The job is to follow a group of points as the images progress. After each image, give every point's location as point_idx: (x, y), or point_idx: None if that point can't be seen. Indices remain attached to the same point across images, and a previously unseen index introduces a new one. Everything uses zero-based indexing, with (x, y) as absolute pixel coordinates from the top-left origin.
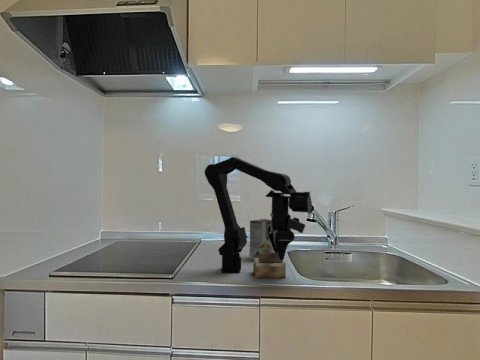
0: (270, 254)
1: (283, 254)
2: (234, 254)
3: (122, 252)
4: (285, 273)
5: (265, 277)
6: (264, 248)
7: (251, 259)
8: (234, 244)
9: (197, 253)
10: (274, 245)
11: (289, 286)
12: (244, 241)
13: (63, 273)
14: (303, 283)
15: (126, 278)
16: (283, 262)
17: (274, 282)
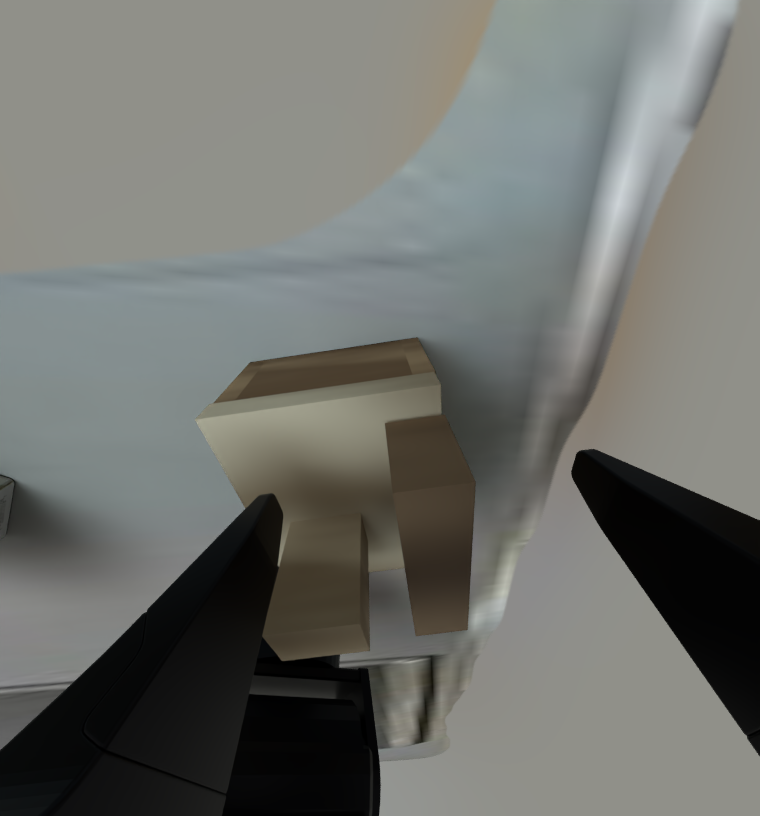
0: (469, 570)
1: (674, 500)
2: (326, 668)
3: None
4: (423, 349)
5: None
6: (318, 644)
7: (5, 529)
8: (376, 775)
9: (60, 674)
10: (246, 632)
11: (614, 321)
12: (264, 783)
13: (403, 740)
14: (572, 195)
15: (435, 697)
16: (407, 404)
17: (511, 405)
